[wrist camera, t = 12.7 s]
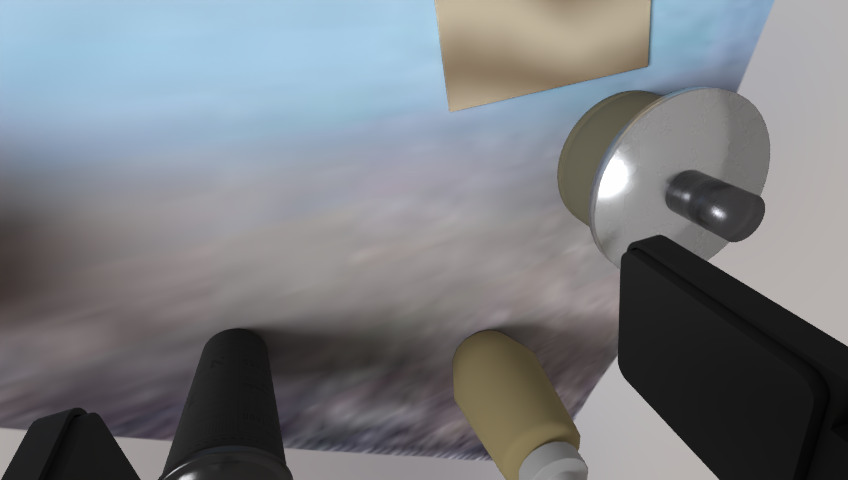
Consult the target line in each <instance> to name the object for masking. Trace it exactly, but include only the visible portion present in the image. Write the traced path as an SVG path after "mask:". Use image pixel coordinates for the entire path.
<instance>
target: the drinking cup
mask: <svg viewBox="0 0 848 480" xmlns="http://www.w3.org/2000/svg"><path fill="white" fill-rule="evenodd" d="M158 480H293V477H292V474H291V472H290V470H289V468H288V467H287V466H286V461H285V454H284V448H283V442H282V436H281V430H280V424H279V418H278V412H277V406H276V400H275V394H274V388H273V382H272V376H271V370H270V364H269V358H268V352H267V347H266V344H265V343H264V341H263V340H262V339H261V338H260V337H259V336H258V335H257V334H255V333H253V332H251V331H248V330H243V329H230V330H226V331H223V332H220V333H218V334H216V335H215V336H213V337H212V338H211V339H210V340H209V341H208V342H207V343H206V345H205V347H204V349H203V352H202V355H201V358H200V361H199V364H198V367H197V370H196V373H195V376H194V379H193V382H192V385H191V388H190V391H189V394H188V397H187V401H186V404H185V407H184V410H183V413H182V416H181V419H180V422H179V425H178V428H177V431H176V434H175V437H174V440H173V443H172V446H171V449H170V452H169V455H168V458H167V461H166V464H165V467H164V470H163V473H162V475H161V476H160V477H159V479H158Z"/></svg>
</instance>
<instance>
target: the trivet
mask: <svg viewBox="0 0 848 480" xmlns="http://www.w3.org/2000/svg"><path fill="white" fill-rule="evenodd" d="M434 1H435V8H436V16H437V23H438V31H439V38H440V46H441V53H442V61H443V68H444V76H445V83H446V91H447V98H448V106H449V111H450V112H453V111H457V110H462V109H466V108H470V107H474V106H479V105H483V104H487V103H492V102H496V101H500V100H505V99H509V98H513V97H518V96H522V95H526V94H531V93H535V92H539V91H544V90H548V89H552V88H556V87H561V86H565V85H569V84H574V83H578V82H582V81H587V80H591V79H595V78H600V77H604V76H608V75H613V74H617V73H621V72H626V71H630V70H634V69H638V68H643V67H647V66H648V48H649V27H650V6H651V0H434Z"/></svg>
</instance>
